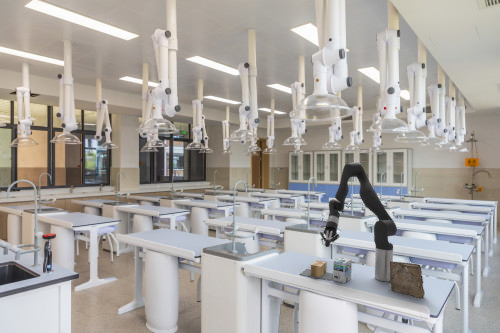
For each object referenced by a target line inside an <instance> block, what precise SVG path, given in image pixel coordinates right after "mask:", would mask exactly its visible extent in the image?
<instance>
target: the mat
mask: <svg viewBox="0 0 500 333" xmlns="http://www.w3.org/2000/svg"><path fill="white" fill-rule="evenodd" d="M310 273H311V268H310V269H309V268H306V269H304V270H303V271H301V273H299V276H303V277H311V278H314V277H315V279H319V278H321V279H320V280H325V279H327V280H326V281H330V280H331V281H332V280H333V279H332V278H333V272H328V271H326V273H325V274H324V275H323V276H322V277H317V276H311V275H310Z"/></svg>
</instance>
